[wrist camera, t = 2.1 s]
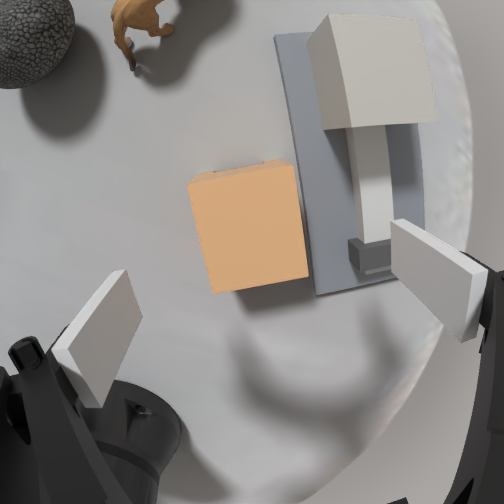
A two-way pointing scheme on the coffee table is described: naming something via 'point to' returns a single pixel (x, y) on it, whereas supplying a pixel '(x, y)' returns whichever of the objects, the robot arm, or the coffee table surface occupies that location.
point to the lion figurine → (136, 23)
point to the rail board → (336, 175)
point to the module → (249, 225)
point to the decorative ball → (33, 39)
